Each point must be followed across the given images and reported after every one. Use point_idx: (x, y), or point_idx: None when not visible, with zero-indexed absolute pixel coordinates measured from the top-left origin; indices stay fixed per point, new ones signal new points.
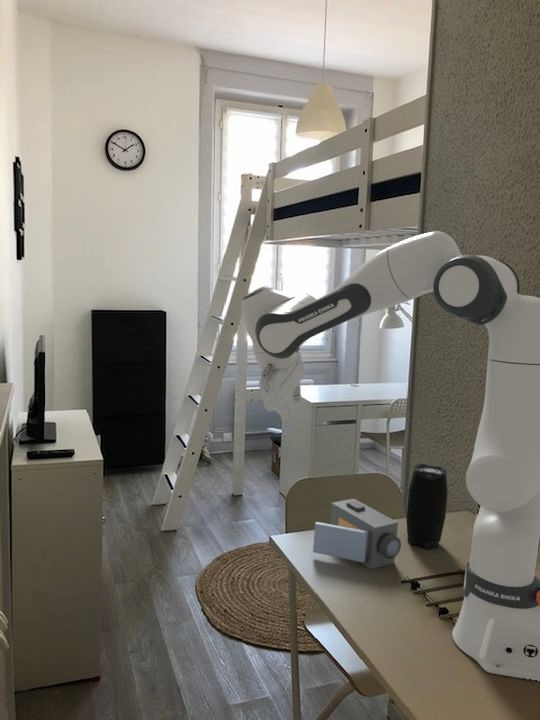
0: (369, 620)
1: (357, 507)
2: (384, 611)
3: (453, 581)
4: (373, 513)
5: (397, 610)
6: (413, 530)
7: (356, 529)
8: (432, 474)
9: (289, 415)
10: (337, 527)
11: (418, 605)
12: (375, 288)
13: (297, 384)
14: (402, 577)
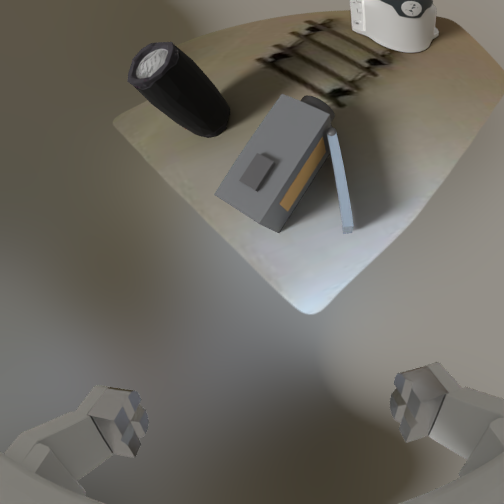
0: (447, 121)
1: (268, 163)
2: (421, 110)
3: (300, 64)
4: (267, 136)
5: (409, 98)
6: (221, 114)
7: (332, 150)
8: (174, 47)
9: (417, 378)
10: (345, 181)
11: (383, 82)
12: None
13: (67, 499)
14: None
